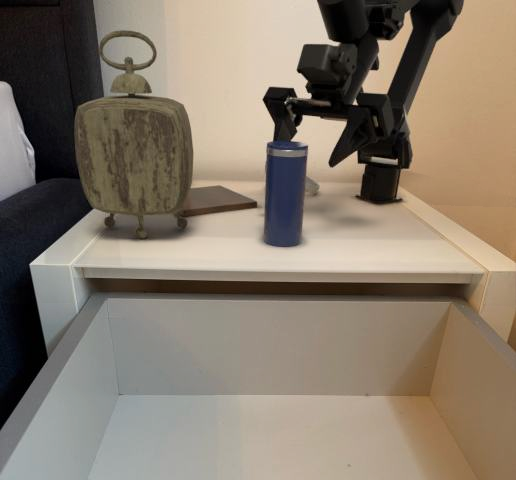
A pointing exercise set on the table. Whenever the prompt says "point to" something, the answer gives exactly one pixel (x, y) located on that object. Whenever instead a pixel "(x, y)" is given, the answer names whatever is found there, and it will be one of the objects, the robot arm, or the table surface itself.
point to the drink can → (285, 192)
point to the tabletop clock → (134, 147)
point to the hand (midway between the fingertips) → (300, 161)
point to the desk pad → (214, 201)
